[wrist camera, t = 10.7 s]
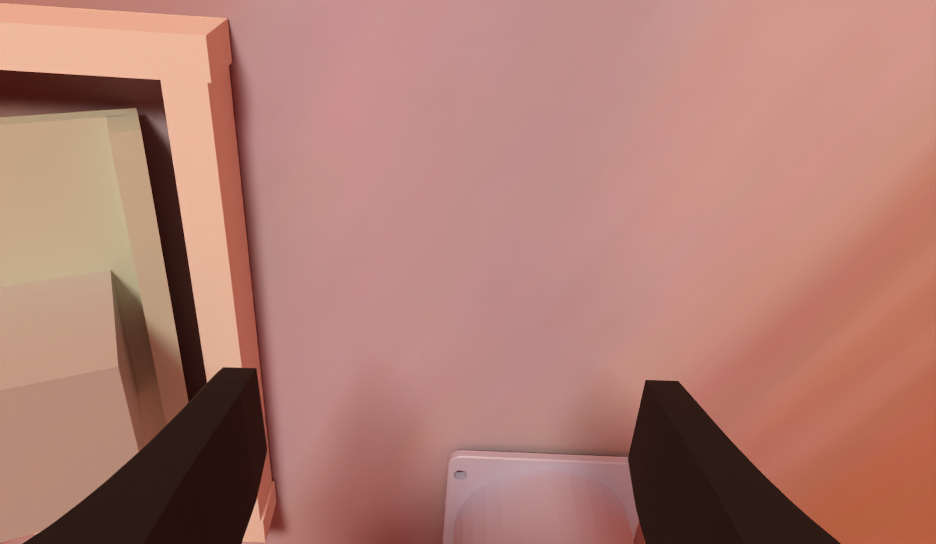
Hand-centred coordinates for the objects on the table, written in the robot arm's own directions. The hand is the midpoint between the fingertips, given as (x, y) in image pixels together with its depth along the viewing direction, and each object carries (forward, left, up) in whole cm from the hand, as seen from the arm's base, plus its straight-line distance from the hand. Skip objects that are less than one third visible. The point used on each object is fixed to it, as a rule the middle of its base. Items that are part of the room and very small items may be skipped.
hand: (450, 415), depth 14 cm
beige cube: (-5, +13, -8) cm, 16 cm away
